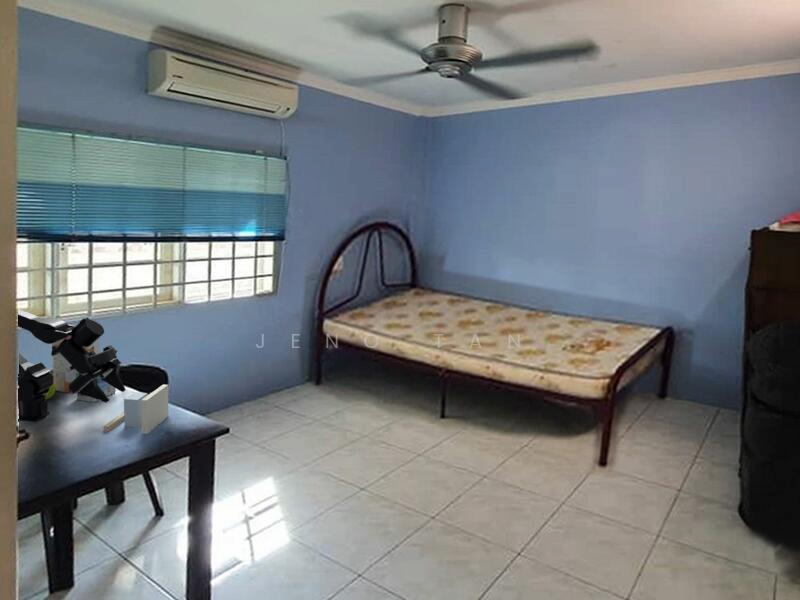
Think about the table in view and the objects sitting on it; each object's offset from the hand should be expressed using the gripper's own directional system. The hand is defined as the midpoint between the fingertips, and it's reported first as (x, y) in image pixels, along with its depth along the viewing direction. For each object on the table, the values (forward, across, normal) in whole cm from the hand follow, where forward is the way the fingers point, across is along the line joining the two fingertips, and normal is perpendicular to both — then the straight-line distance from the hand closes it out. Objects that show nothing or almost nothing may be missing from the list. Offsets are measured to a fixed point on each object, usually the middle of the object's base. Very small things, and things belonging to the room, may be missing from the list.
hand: (116, 396), depth 166 cm
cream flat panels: (+10, 0, +1) cm, 10 cm away
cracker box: (-14, +28, +26) cm, 41 cm away
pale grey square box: (+10, 0, +1) cm, 10 cm away
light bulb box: (-6, +20, +18) cm, 28 cm away
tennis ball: (-16, +14, +28) cm, 35 cm away
